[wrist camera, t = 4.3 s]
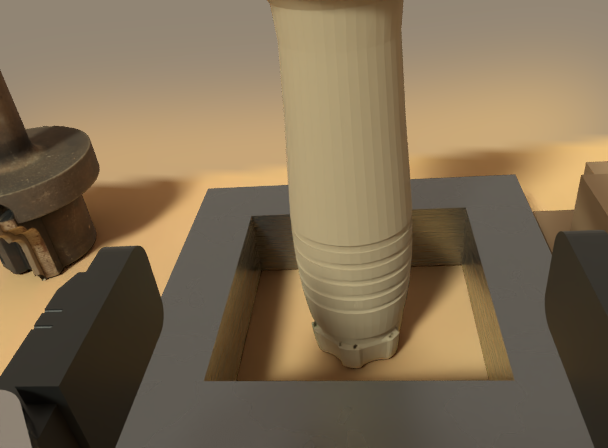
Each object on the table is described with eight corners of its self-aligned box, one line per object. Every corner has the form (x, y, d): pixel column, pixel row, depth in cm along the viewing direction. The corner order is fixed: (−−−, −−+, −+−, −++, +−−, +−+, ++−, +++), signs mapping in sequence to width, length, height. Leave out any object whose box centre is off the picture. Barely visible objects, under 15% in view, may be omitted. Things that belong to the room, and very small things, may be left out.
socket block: (508, 230, 27) (515, 174, 25) (620, 528, 15) (646, 463, 13) (219, 240, 28) (208, 188, 27) (123, 514, 17) (92, 454, 15)
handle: (295, 291, 25) (238, -105, 16) (447, 306, 23) (471, -129, 14) (261, 378, 21) (162, -82, 12) (441, 403, 19) (467, -110, 11)
